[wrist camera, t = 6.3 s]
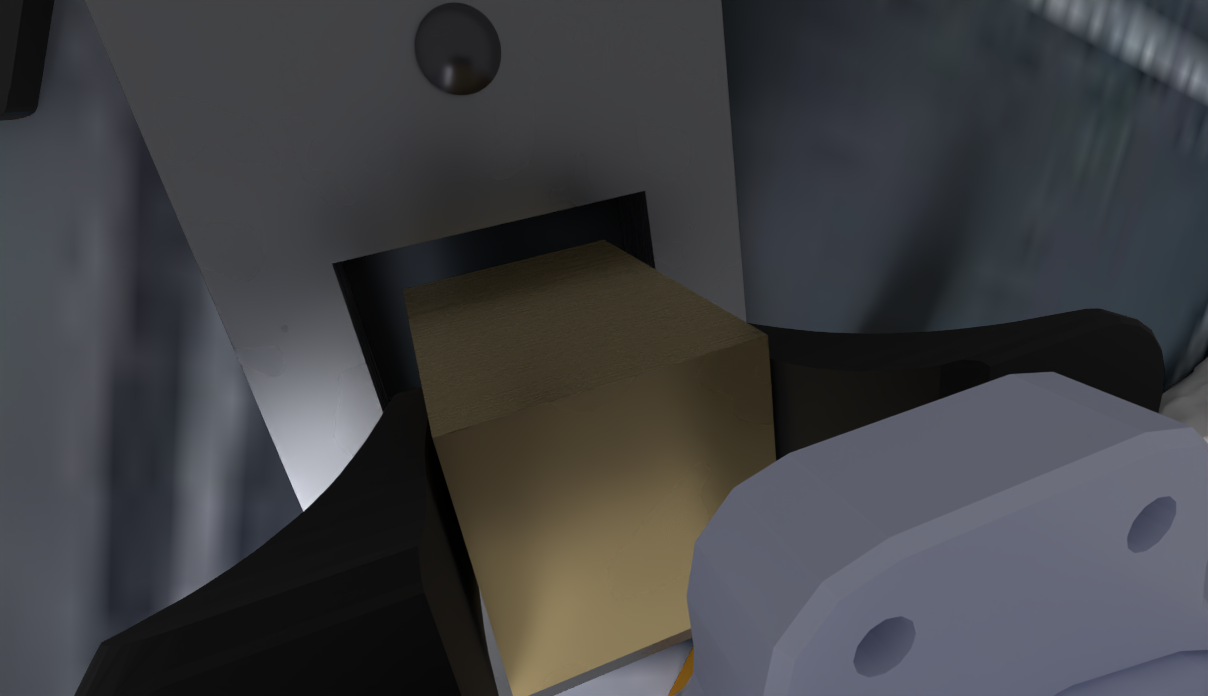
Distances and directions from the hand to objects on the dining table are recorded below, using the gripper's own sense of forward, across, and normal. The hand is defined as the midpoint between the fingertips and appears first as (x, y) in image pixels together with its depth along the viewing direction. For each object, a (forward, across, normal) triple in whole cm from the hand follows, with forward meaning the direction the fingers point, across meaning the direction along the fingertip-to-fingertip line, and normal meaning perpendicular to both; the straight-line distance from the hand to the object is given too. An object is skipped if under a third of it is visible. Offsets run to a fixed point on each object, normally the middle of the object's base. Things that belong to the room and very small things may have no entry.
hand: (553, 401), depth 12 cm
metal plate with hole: (+3, 0, 0) cm, 3 cm away
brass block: (+2, 0, 0) cm, 2 cm away
